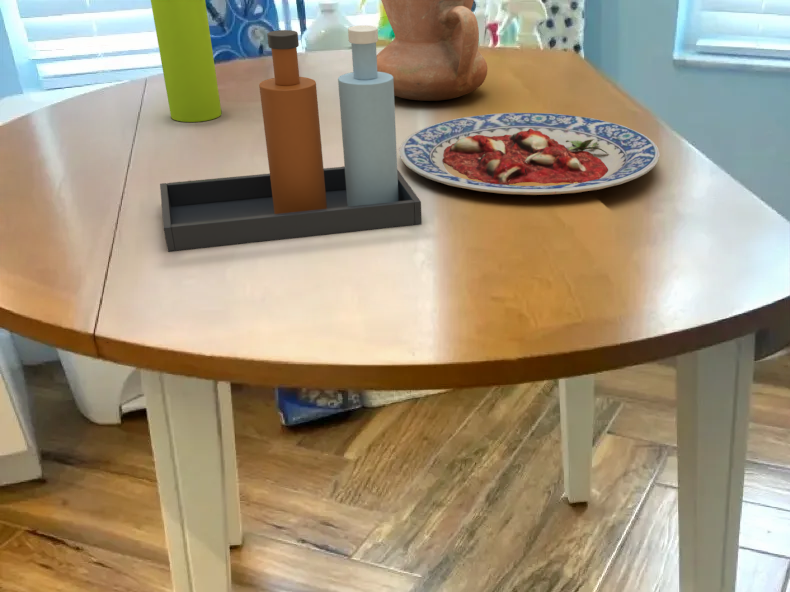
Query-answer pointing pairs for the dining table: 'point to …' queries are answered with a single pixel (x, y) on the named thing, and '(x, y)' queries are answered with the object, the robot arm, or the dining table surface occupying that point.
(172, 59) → the soap dispenser
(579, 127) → the ceramic plate
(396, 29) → the ceramic jug
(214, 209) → the tray
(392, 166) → the pale blue bottle
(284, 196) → the amber bottle
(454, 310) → the dining table surface
